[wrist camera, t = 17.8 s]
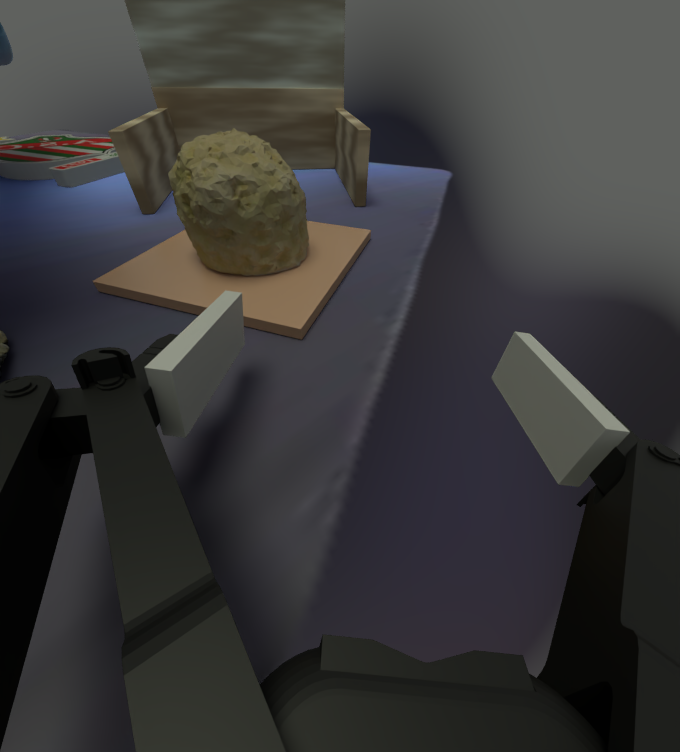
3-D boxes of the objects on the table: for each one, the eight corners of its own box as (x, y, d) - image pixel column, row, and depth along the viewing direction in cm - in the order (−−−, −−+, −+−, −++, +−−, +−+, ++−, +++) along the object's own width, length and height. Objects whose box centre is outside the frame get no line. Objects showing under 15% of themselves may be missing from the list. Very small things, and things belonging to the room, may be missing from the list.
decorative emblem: (60, 170, 38) (-92, 149, 45) (72, 192, 39) (-76, 168, 46) (168, 143, 50) (36, 129, 57) (174, 160, 52) (45, 145, 58)
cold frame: (365, 206, 36) (402, -351, 16) (142, 214, 33) (-133, -444, 14) (341, 166, 49) (346, -173, 29) (179, 169, 46) (65, -202, 26)
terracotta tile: (98, 291, 22) (92, 281, 22) (225, 216, 33) (223, 208, 32) (301, 339, 19) (300, 329, 18) (370, 238, 29) (370, 230, 29)
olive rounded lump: (273, 262, 32) (198, 162, 26) (351, 217, 25) (272, 75, 20) (221, 318, 26) (114, 207, 21) (303, 280, 20) (179, 108, 15)
